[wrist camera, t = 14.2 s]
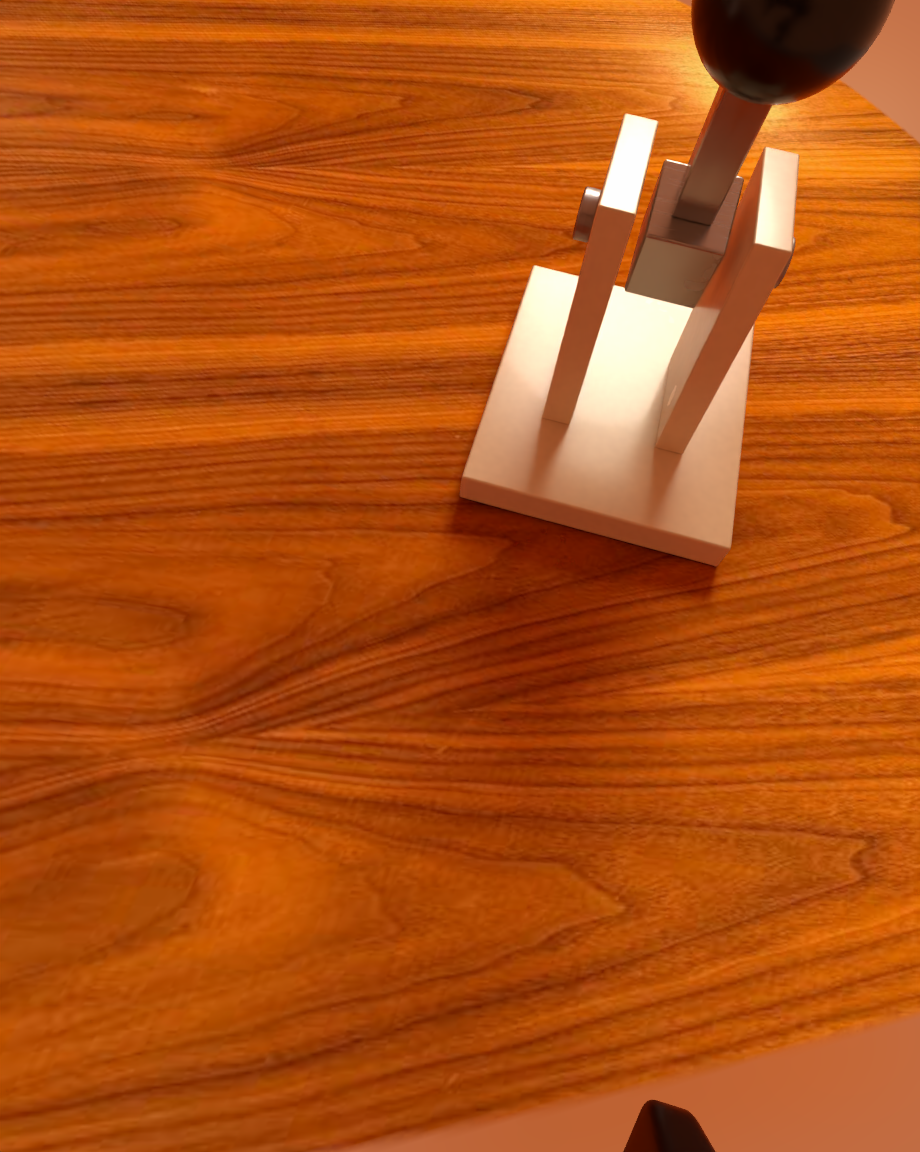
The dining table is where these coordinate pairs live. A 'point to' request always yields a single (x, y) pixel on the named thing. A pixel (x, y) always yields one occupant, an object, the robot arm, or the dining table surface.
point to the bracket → (634, 375)
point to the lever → (740, 124)
